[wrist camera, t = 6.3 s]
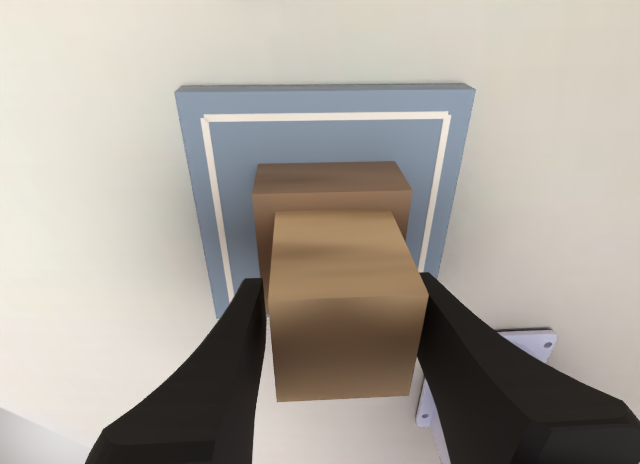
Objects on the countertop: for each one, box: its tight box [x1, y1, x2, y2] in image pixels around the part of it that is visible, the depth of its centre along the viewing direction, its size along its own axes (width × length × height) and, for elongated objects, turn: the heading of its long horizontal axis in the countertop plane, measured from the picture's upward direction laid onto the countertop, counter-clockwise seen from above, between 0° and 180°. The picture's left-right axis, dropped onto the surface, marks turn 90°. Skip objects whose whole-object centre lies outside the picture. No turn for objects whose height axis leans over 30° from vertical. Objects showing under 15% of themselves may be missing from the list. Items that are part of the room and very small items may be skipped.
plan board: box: [174, 84, 476, 319], centre depth 18 cm, size 12×12×4 cm
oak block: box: [268, 209, 429, 402], centre depth 14 cm, size 4×4×5 cm
